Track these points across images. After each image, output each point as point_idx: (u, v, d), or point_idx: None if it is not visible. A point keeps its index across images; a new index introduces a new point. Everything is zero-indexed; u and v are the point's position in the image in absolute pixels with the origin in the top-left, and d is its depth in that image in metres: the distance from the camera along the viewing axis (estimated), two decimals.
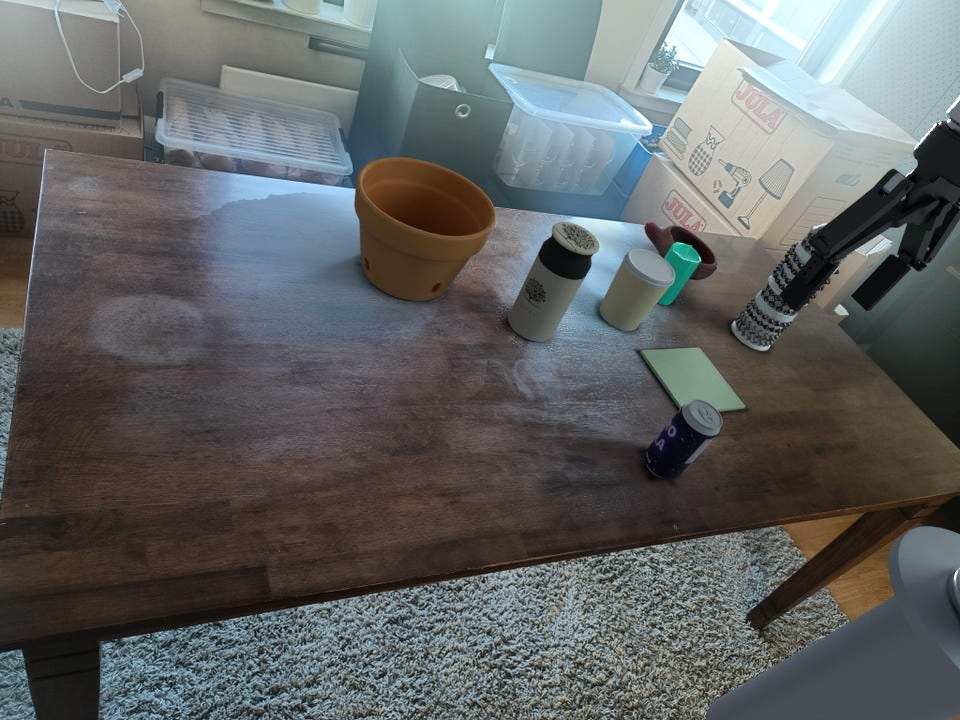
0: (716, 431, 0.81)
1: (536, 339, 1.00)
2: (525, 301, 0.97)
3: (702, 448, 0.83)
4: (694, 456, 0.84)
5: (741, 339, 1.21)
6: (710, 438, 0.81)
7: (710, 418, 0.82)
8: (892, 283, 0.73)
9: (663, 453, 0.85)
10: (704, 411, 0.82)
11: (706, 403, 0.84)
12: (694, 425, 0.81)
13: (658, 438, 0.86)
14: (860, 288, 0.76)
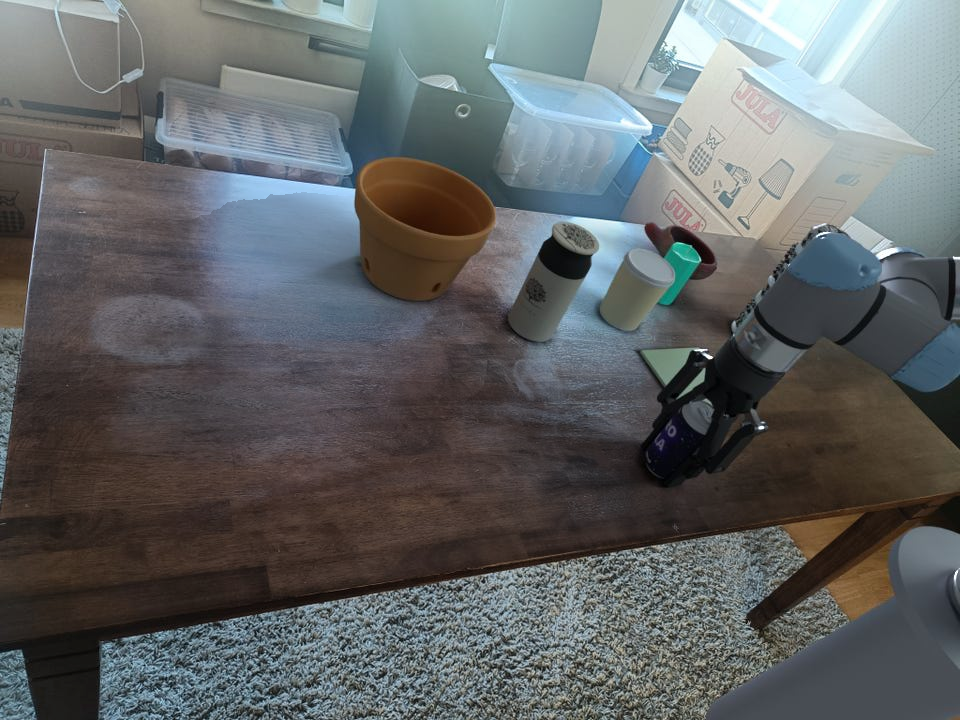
0: None
1: (536, 339, 1.00)
2: (525, 301, 0.97)
3: None
4: None
5: None
6: None
7: (710, 418, 0.82)
8: None
9: (663, 453, 0.85)
10: (704, 411, 0.82)
11: (706, 403, 0.84)
12: (694, 425, 0.81)
13: (658, 438, 0.86)
14: (649, 444, 0.90)
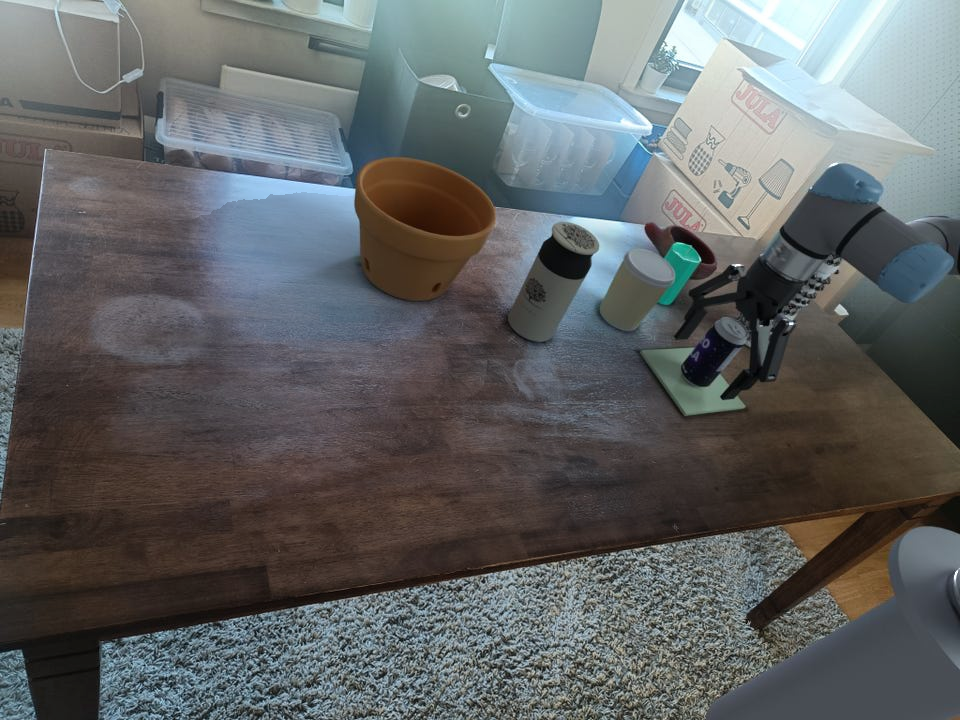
0: (743, 341, 0.98)
1: (536, 339, 1.00)
2: (525, 301, 0.97)
3: (731, 357, 1.00)
4: (724, 364, 1.01)
5: None
6: (738, 347, 0.98)
7: (738, 331, 0.99)
8: (700, 321, 1.06)
9: (698, 363, 1.02)
10: (733, 325, 0.99)
11: (734, 320, 1.01)
12: (725, 335, 0.98)
13: (693, 351, 1.03)
14: (681, 333, 1.07)
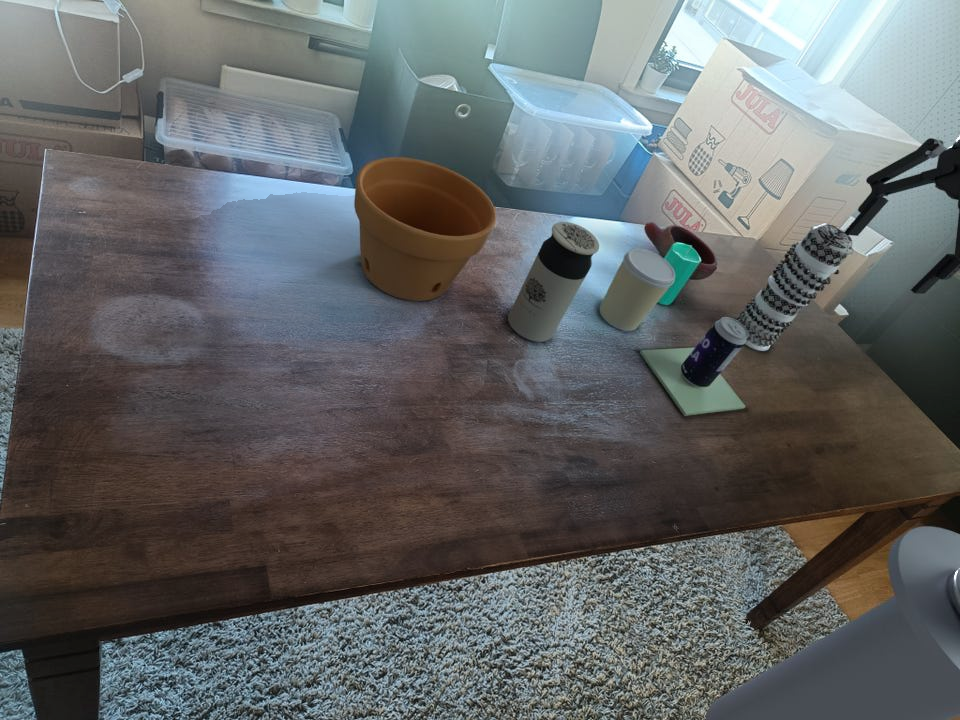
0: (743, 341, 0.98)
1: (536, 339, 1.00)
2: (525, 301, 0.97)
3: (731, 357, 1.00)
4: (724, 364, 1.01)
5: None
6: (738, 347, 0.98)
7: (738, 331, 0.99)
8: (877, 212, 0.96)
9: (698, 363, 1.02)
10: (733, 325, 0.99)
11: (734, 320, 1.01)
12: (725, 335, 0.98)
13: (693, 351, 1.03)
14: (855, 227, 0.96)
